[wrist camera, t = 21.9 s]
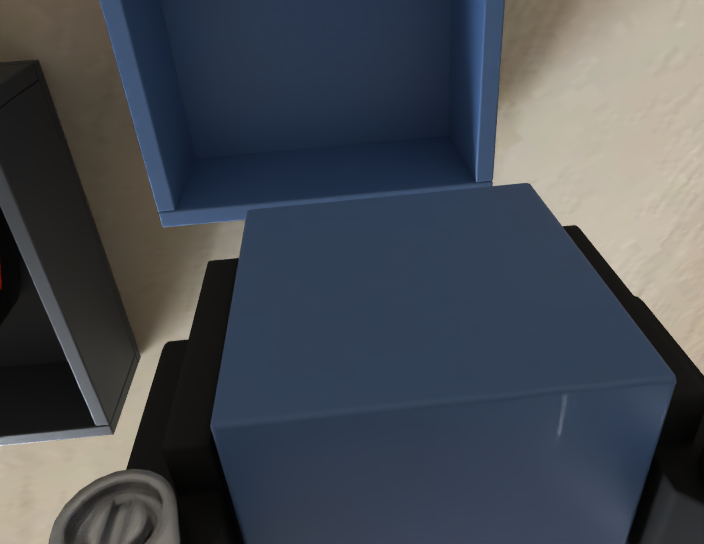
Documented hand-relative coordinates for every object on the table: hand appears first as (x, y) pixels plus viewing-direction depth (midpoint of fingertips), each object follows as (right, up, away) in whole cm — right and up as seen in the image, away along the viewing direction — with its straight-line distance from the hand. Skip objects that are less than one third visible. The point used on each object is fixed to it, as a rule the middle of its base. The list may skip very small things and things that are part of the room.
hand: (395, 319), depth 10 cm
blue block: (0, 0, 0) cm, 0 cm away
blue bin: (-2, +10, +11) cm, 15 cm away
